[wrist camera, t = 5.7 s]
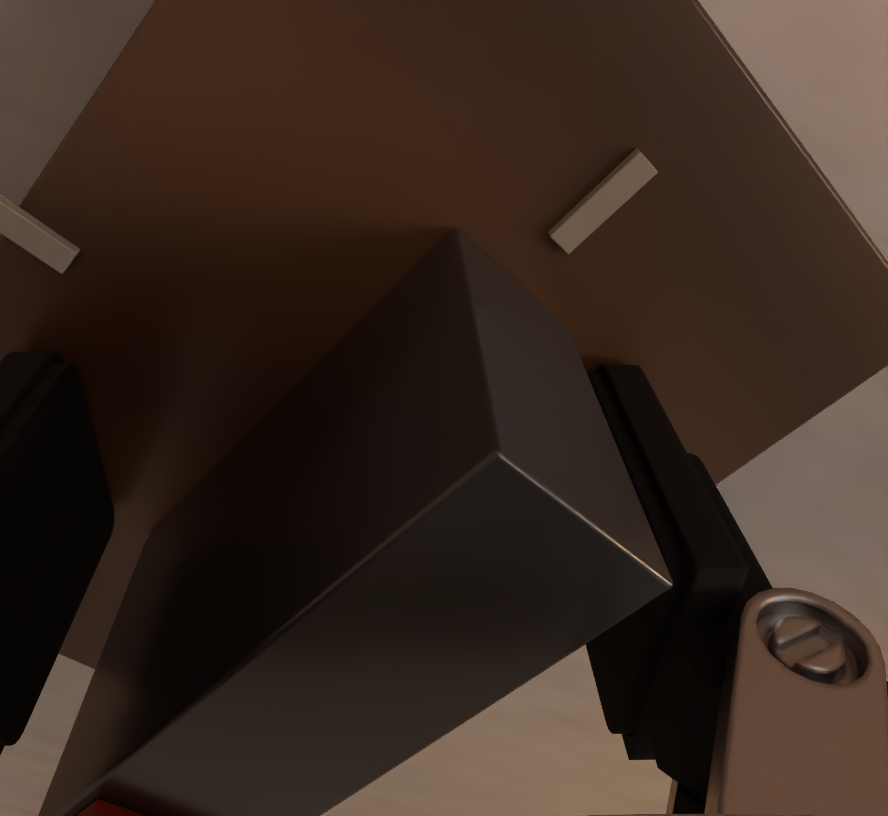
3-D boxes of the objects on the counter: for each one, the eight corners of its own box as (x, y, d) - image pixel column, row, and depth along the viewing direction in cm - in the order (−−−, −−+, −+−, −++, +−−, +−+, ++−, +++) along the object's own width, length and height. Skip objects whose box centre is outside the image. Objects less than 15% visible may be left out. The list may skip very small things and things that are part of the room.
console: (369, -359, 8) (357, -480, 6) (850, 271, 13) (964, 362, 10) (-131, 409, 13) (-257, 530, 11) (343, 656, 18) (335, 781, 16)
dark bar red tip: (455, 225, 9) (502, 472, 5) (571, 331, 10) (687, 610, 6) (144, 539, 12) (17, 863, 8) (260, 601, 12) (199, 916, 9)
